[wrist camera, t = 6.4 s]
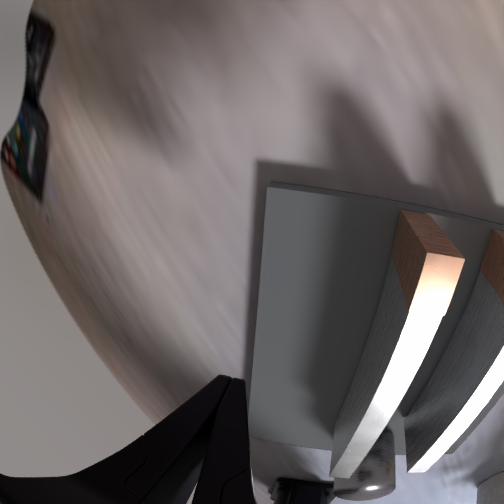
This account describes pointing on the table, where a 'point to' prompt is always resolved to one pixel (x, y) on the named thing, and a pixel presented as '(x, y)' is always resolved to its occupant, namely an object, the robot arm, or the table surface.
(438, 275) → the tongs hinged arm
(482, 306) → the arm
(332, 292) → the charcoal mat
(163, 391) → the table surface
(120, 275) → the table surface
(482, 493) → the house plant
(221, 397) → the robot arm
